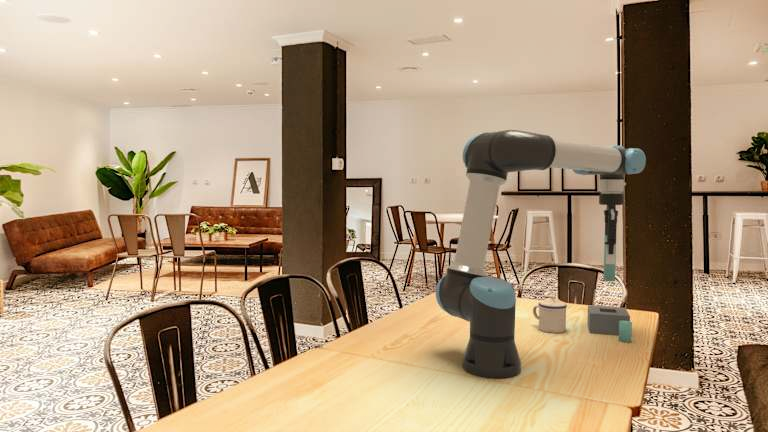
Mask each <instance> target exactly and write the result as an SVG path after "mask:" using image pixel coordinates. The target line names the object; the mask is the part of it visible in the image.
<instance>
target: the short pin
mask: <svg viewBox="0 0 768 432" xmlns="http://www.w3.org/2000/svg"><path fill="white" fill-rule="evenodd" d="M632 328H633V322H632V321H631V320H630V321H624V320H622V321H619V335H618V341H619V342H622V343H626V342H627V344H628V342H629V343H632V335H633V333H632V332H633V331H632V330H633V329H632Z"/></svg>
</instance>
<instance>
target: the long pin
mask: <svg viewBox="0 0 768 432" xmlns="http://www.w3.org/2000/svg"><path fill="white" fill-rule="evenodd" d="M604 237H605V239H604V247H603V281H605V282H616V266H617V265H616V262H617V261H616V260H617V258H616V257H617V255H616V254H617V243H616V244H615V264H606V244H605V242H607V235H605V234H604Z"/></svg>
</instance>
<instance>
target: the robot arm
mask: <svg viewBox="0 0 768 432" xmlns="http://www.w3.org/2000/svg"><path fill="white" fill-rule="evenodd" d="M462 162H463V163H464V166H465V168H466V174H465V176H466V177H467V179H468V180H469V186H468V189H467V196H466V201H465V206H464V211H463V215H462V220H461V225H460V230H459V236H458V241H457V246H456V252H455V257H454V261H453V263H452V264H449V265H448V266H447V270H446V274H444V275H443V276H442V277H441V278H440V279H439V280H438V282H437V284H436V287H435V298H436V302H437V304H438V305H439V307H440V309H442V310H443V311H444V312H446V313H447V314H448V315H450V316H451V317H457V318H459V319H462V320H463V321H467V322H468V323H469V339H468V342H467V344H466V347H465V351H464V354H463V357H462V368H463V370H465V371H466V372H468V373H469V374H471V375H475V376H480V377H482V378H483V377H484V378H490V379H491V378H492V379H501V378H512V377H513V376H517V375H518V374H520V373H521V371H522V361H521V358H520V354H519V351H518V348H517V345H516V342H515V335H516V334H515V331H516V330H515V329H516V306H517V305H516V302H517V298H516V290H515V286H514V285H513V284H512V283H510V282H509V281H508V280H506V279H502V278H498V277H497V278H496V277H492V276H488V273H487V272H486V271H485V262H486V259H487V253H488V247H489V242H490V238H491V231H492V226H493V223H494V217H495V212H496V208H497V207H496V206H497V201H498V197H499V192H500V188H501V186H503V185H504V184H506V182H507V180H508V179H507V178H508V174H509V173H514V172H515V173H516V172H523V171H532V170H533V171H545V170H548V169H550V168H554V169H565V170H567V169H568V170H572V171H573V172H574V173H575V174H576V175H581V176H582V175H583V176H594V175H595V176H596V175H599V185H598V188H599V189H598V191H599V192H600V193H599V194H598V204H599V205H603V206H606V208H605V210H603V214H604V237H603V238H604V239H605V235H607V242H605V244H606V264H615V244H616V245H617V224H618V216H619V211H618V210H617V208H616V206H621V205H622V206H623V205H624V201H625V200H624V199H625V195H624V193H623V192H624V189H625V186H626V185H627V182H625V175H634V174H640V173H642V172H643V170H644V169H645V167H646V164H647V163H646V162H647V157H646V154H645V153H644V151H643V150H642V149H640V148H636V147H635V148H633V147H632V148H631V147H629V148H625V147H624V146H622V145H604V146H603V145H596V144H589V143H582V142H581V143H580V142H574V141H573V142H572V141H563V140H556V139H554V138H553V137H552V136H550V135H548V134H547V135H546V134H541V133H536V132H529V131H524V130H517V129H505V130H499V131H493V132H489V131H487V132H482V133H480V134H477V135H474V136H473V137H471V138H470V139H469V140H468V141H467V142H466V144H465V146H464V148H463V150H462Z"/></svg>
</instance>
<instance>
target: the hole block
mask: <svg viewBox="0 0 768 432" xmlns="http://www.w3.org/2000/svg"><path fill="white" fill-rule="evenodd" d="M622 320H624V321H630V322H631V315H630V314H629V312H628V310H627V309H626V307H619V306H618V307H617V306H603V305H587V320H586V321H587V328H588V332H589V334H601V335H609V336H610V335H611V336H613V335H614V336H619V321H622Z"/></svg>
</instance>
